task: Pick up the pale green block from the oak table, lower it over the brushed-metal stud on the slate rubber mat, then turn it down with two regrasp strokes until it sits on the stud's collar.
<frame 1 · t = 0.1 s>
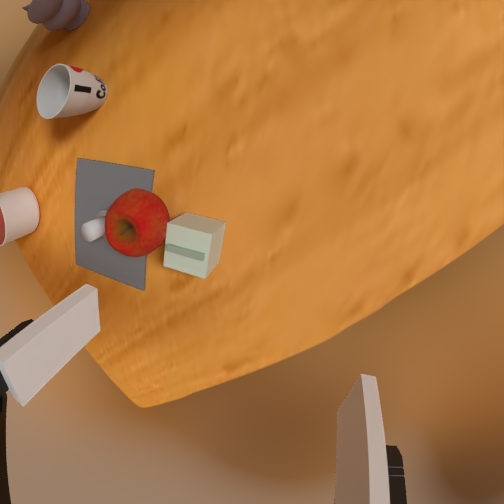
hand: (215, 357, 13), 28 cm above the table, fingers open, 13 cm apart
stud mat: (108, 223, 44), on the table
cup 2: (96, 95, 37), on the table
cat figurine: (78, 16, 32), on the table
cup: (30, 208, 48), on the table
apple: (156, 210, 42), on the table, touching pale green block, stud mat
pale green block: (202, 236, 42), on the table, touching apple
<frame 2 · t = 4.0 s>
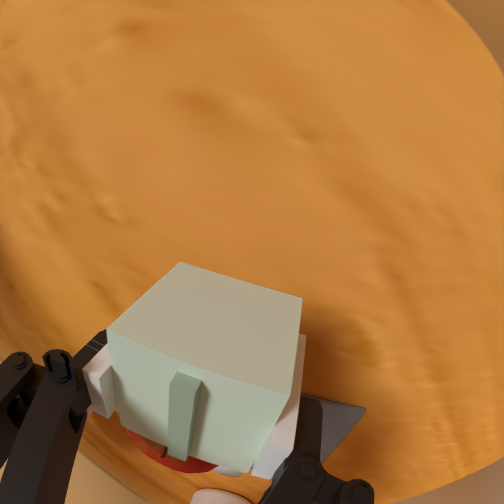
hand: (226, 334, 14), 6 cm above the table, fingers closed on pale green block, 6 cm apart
stud mat: (240, 429, 26), on the table
cup: (225, 497, 35), on the table
apple: (216, 356, 23), on the table, touching stud mat
pale green block: (228, 330, 15), point 6 cm above the table, touching gripper
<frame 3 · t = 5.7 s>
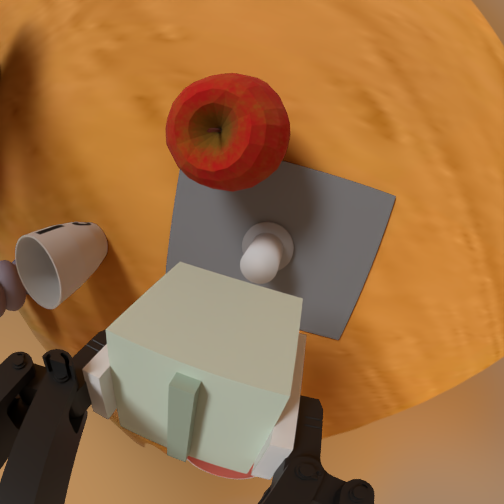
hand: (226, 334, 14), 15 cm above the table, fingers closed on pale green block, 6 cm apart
stud mat: (268, 244, 28), on the table
cup 2: (93, 241, 33), on the table
cat figurine: (27, 274, 39), on the table
cup: (240, 404, 37), on the table
apple: (251, 133, 25), on the table
pale green block: (228, 330, 15), point 15 cm above the table, touching gripper
when the fingers open (1 cm above the table, at t = 8.1 s): pale green block stays where it is, resting on stud mat.
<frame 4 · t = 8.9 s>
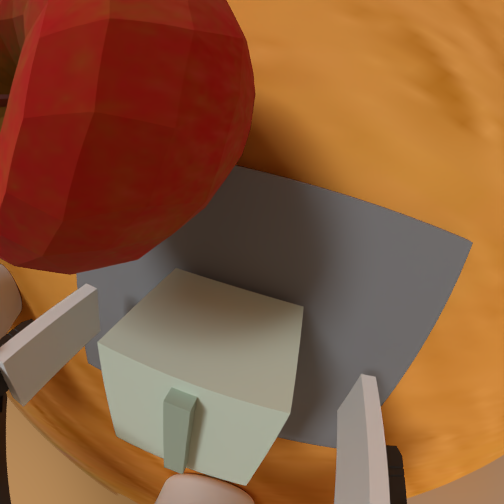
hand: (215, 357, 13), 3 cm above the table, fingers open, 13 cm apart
stud mat: (229, 327, 15), on the table
cup 2: (8, 288, 20), on the table
cup: (212, 488, 24), on the table
apple: (188, 116, 12), on the table
pale green block: (226, 338, 14), point 1 cm above the table, touching stud mat
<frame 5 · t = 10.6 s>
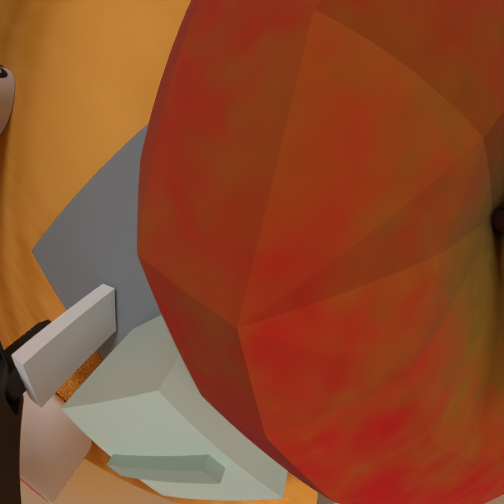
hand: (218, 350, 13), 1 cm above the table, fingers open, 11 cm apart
stud mat: (216, 345, 14), on the table
cup 2: (0, 103, 12), on the table
cup: (60, 410, 23), on the table
apple: (368, 166, 10), on the table
pale green block: (212, 359, 13), point 1 cm above the table, touching stud mat
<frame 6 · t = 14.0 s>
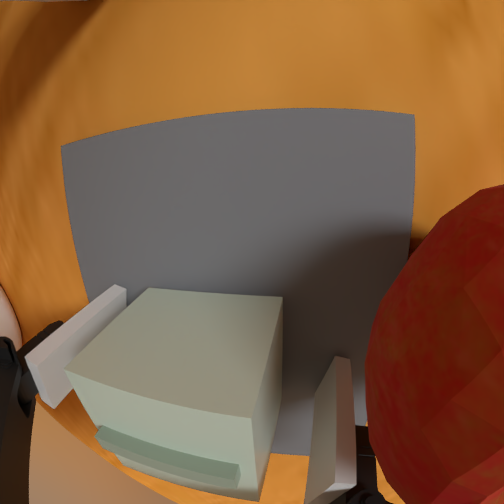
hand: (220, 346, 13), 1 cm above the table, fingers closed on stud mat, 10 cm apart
stud mat: (223, 335, 14), on the table
apple: (438, 263, 11), on the table
pale green block: (217, 349, 13), point 1 cm above the table, touching stud mat
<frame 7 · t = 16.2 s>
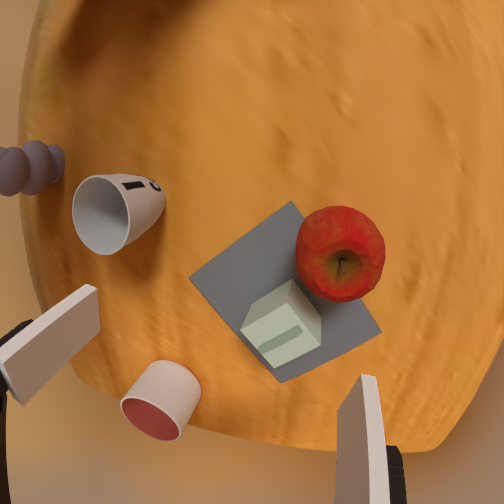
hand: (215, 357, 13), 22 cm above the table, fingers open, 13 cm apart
stud mat: (286, 305, 36), on the table
cup 2: (149, 199, 35), on the table
cat figurine: (53, 164, 37), on the table
cup: (176, 379, 44), on the table
apple: (335, 234, 32), on the table
pale green block: (286, 310, 35), point 1 cm above the table, touching stud mat
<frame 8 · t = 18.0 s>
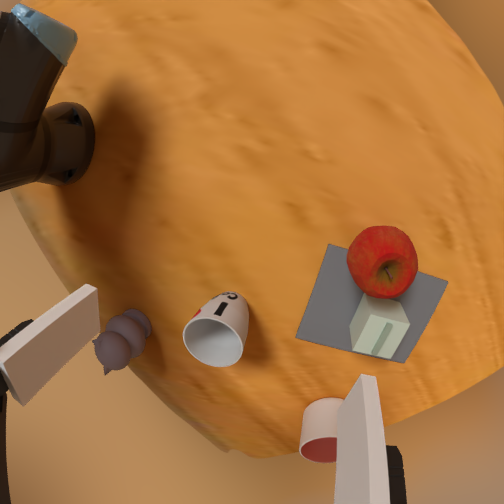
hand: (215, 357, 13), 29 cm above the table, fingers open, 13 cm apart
stud mat: (373, 310, 41), on the table
cup 2: (232, 305, 46), on the table
cat figurine: (138, 323, 52), on the table
cup: (329, 409, 50), on the table
apple: (372, 243, 38), on the table
pale green block: (374, 314, 40), point 1 cm above the table, touching stud mat
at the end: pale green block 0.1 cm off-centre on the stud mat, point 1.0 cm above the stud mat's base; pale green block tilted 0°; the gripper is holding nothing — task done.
